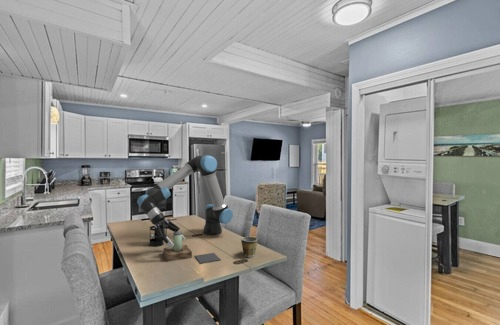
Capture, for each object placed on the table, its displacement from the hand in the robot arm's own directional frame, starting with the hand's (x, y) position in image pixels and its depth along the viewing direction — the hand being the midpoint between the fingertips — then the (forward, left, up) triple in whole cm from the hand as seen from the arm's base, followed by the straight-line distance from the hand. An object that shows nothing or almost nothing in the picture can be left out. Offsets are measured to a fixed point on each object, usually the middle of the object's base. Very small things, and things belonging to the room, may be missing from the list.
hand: (178, 243), depth 152 cm
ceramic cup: (-40, +15, -8) cm, 43 cm away
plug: (0, -1, -8) cm, 8 cm away
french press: (+8, -28, -8) cm, 30 cm away
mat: (-15, +11, -8) cm, 20 cm away
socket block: (0, -1, -8) cm, 8 cm away
